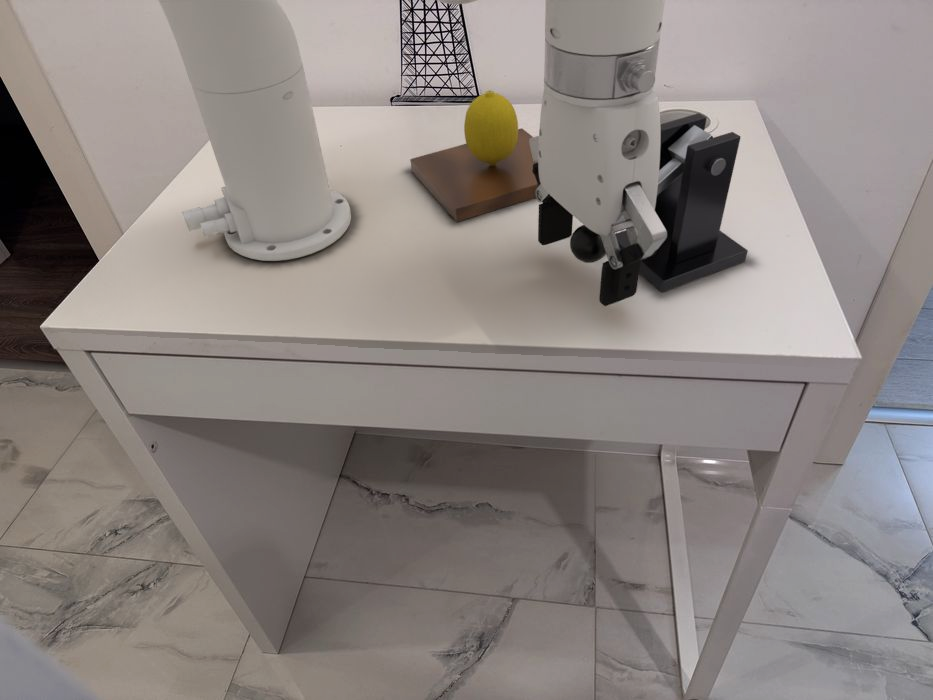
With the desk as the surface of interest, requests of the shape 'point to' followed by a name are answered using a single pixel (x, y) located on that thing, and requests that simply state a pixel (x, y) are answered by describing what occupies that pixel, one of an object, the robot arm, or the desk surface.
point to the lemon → (491, 128)
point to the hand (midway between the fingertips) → (584, 267)
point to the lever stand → (693, 210)
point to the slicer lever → (590, 244)
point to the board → (477, 179)
